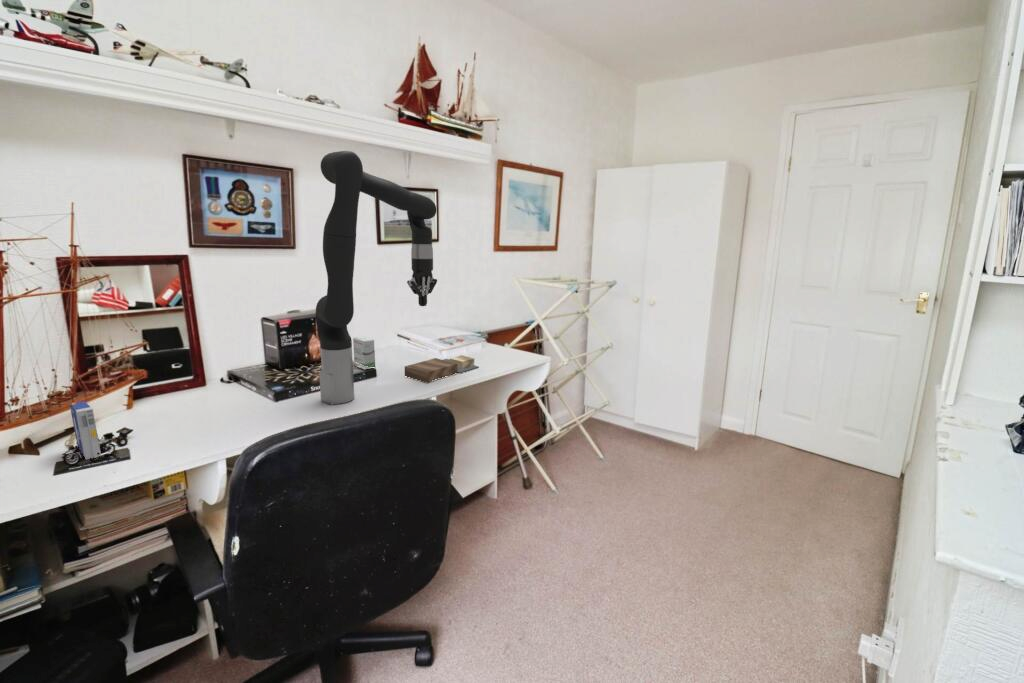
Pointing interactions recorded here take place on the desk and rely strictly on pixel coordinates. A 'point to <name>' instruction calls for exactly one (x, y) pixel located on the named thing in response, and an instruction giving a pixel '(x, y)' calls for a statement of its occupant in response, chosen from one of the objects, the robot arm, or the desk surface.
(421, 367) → the walnut stand
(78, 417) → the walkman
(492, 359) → the desk surface
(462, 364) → the maple block
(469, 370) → the charcoal mat
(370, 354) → the ink box
